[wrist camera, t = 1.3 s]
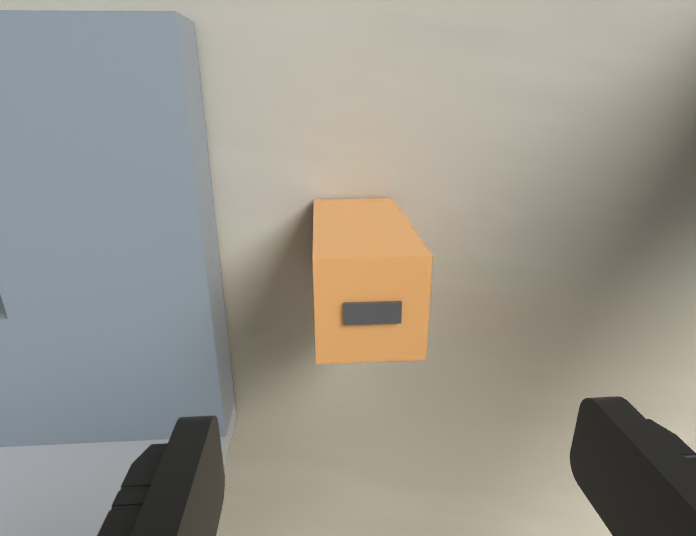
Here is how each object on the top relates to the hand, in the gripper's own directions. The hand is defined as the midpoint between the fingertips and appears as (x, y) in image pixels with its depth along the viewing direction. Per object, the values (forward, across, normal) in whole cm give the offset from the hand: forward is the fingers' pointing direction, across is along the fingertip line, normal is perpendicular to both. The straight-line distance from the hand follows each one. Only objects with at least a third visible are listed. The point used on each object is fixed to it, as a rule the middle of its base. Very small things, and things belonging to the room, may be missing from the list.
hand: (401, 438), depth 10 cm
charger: (+15, 0, 0) cm, 15 cm away
